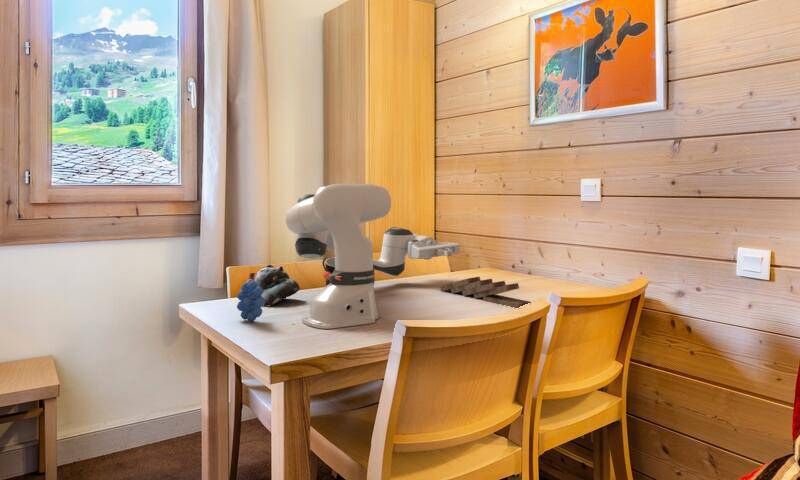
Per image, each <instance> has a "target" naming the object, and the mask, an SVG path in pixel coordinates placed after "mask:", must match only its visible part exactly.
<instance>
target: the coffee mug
mask: <svg viewBox="0 0 800 480" xmlns="http://www.w3.org/2000/svg"><path fill="white" fill-rule="evenodd" d="M322 267H323V269H324V272H330V273H331V274H332V273H333V271H334V269H335V257H329V258H324V259H323V260H322ZM330 279H331V278H330ZM330 279H325V287H326V286H327V285H328V284H330Z"/></svg>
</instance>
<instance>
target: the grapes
mask: <svg viewBox="0 0 800 480" xmlns="http://www.w3.org/2000/svg"><path fill="white" fill-rule="evenodd" d="M262 293H263V289H262V288H261V287H259V286H258V285H257V283H256V282H255V281H250V282H249V283H248V282H247V281H246V282H244V283H243V284H242V285H241V288H240V290H239V291H238V293H237V295H236V297H237V299H238V300H239V302H238V303H237V304H236V308H237V310H238V311H240V317H241V319H243V320H247V321H248V322H249V323H253V322H255V321H256V319H257V318H259V317H261V316H262V315H263V314H262V313H263V308H262V307H264V306H263V305H264V303H265V300H264V298H263V297H262V296H261V295H262Z"/></svg>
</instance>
